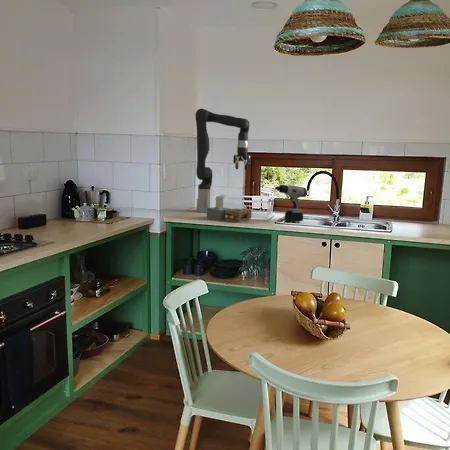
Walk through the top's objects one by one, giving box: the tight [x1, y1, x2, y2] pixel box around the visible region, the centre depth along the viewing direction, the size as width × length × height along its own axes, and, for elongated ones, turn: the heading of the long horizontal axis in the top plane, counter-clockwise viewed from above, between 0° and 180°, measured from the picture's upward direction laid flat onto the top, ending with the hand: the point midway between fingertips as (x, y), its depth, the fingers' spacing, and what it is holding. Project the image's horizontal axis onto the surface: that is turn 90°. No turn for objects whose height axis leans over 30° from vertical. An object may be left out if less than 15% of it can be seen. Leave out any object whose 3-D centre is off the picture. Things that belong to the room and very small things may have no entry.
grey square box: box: [206, 206, 230, 221], centre depth 332 cm, size 12×12×7 cm
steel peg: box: [215, 196, 224, 209], centre depth 332 cm, size 4×4×15 cm
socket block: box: [224, 208, 250, 223], centre depth 327 cm, size 12×12×7 cm
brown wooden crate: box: [225, 208, 253, 220], centre depth 328 cm, size 19×8×6 cm, turn 139°
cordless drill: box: [274, 184, 308, 222], centre depth 336 cm, size 8×24×25 cm, turn 115°
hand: (241, 169), depth 348 cm, fingers open, 8 cm apart
